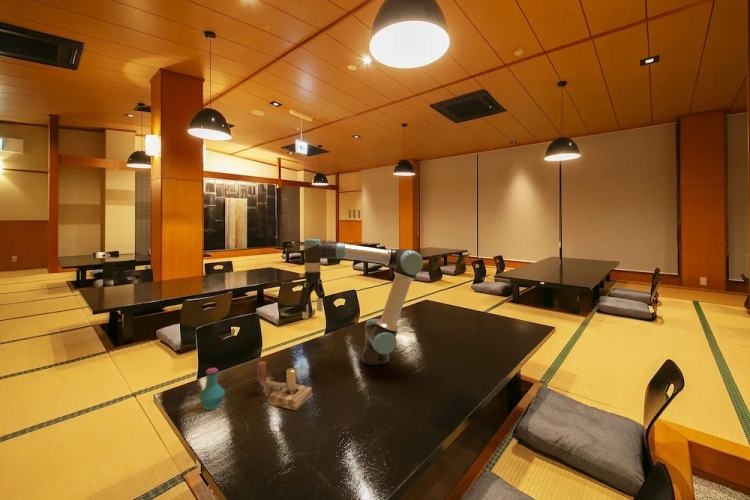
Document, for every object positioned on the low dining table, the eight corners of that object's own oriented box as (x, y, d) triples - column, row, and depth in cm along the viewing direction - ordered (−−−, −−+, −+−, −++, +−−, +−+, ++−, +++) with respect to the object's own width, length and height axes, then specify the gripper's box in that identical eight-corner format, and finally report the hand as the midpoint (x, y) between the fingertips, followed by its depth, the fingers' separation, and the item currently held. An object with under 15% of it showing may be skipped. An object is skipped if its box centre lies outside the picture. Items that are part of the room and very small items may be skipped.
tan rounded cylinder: (297, 396, 139) (298, 368, 138) (292, 400, 135) (292, 372, 134) (290, 394, 140) (290, 367, 139) (284, 398, 137) (284, 371, 136)
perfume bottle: (217, 396, 139) (216, 362, 138) (229, 403, 133) (228, 368, 132) (195, 406, 131) (194, 370, 130) (207, 414, 126) (206, 376, 125)
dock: (312, 394, 142) (312, 383, 141) (295, 410, 129) (295, 398, 129) (277, 387, 148) (277, 376, 148) (258, 401, 136) (258, 389, 135)
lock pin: (284, 387, 140) (284, 365, 140) (280, 390, 138) (280, 368, 137) (261, 381, 145) (261, 361, 144) (257, 384, 142) (257, 363, 141)
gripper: (318, 267, 168) (318, 307, 169) (290, 274, 144) (291, 320, 146) (331, 268, 165) (331, 309, 167) (305, 275, 142) (305, 322, 143)
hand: (312, 314), depth 156 cm, fingers open, 13 cm apart
